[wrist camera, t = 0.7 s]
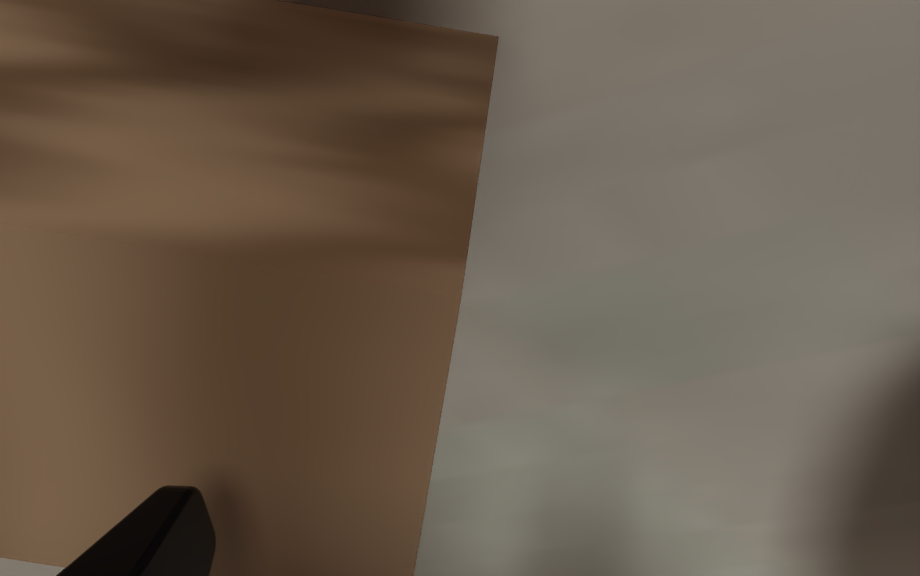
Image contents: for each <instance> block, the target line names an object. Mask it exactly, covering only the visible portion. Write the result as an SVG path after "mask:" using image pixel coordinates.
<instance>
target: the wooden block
mask: <svg viewBox="0 0 920 576" xmlns="http://www.w3.org/2000/svg"><path fill="white" fill-rule="evenodd" d="M498 38H499V37H497V36H491V35H485V34H479V33H473V32H467V31H461V30H455V29H449V28H443V27H437V26H431V25H425V24H418V23H412V22H406V21H400V20H394V19H388V18H382V17H376V16H370V15H364V14H358V13H352V12H346V11H340V10H334V9H328V8H322V7H316V6H309V5H303V4H297V3H291V2H285V1H279V0H0V557H1V558H8V559H14V560H20V561H27V562H33V563H39V564H46V565H52V566H58V567H65V568H66V567H67V566H68V565H69V564H71V563H72V562H73V561H74V560H75V559H76V558H78V557H79V556H80V555H81V554H82V553H83V552H85V551H86V550H87V549H88V548H89V547H90V546H92V545H93V544H94V543H95V542H96V541H97V540H99V539H100V538H101V537H102V536H103V535H104V534H106V533H107V532H108V531H109V530H110V529H111V528H113V527H114V526H115V525H116V524H117V523H119V522H120V521H121V520H122V519H123V518H124V517H126V516H127V515H128V514H129V513H130V512H131V511H133V510H134V509H135V508H136V507H137V506H138V505H140V504H141V503H142V502H143V501H144V500H145V499H147V498H148V497H149V496H150V495H151V494H152V493H154V492H155V491H156V490H157V489H159V488H161V487H163V486H167V485H177V486H193V487H196V488H197V489H199V490H200V491H201V494H202V496H203V498H204V501H205V504H206V507H207V510H208V513H209V515H210V518H211V521H212V524H213V527H214V530H215V534H216V548H215V554H214V558H213V562H212V566H211V570H210V574H209V576H414V570H415V564H416V558H417V553H418V547H419V541H420V535H421V529H422V523H423V518H424V512H425V506H426V500H427V494H428V488H429V483H430V477H431V471H432V465H433V459H434V453H435V448H436V442H437V436H438V430H439V424H440V418H441V413H442V407H443V401H444V395H445V389H446V383H447V378H448V372H449V366H450V360H451V354H452V348H453V343H454V337H455V331H456V325H457V319H458V313H459V308H460V302H461V296H462V289H463V282H464V275H465V268H466V261H467V254H468V247H469V240H470V233H471V226H472V219H473V212H474V205H475V198H476V191H477V184H478V177H479V170H480V163H481V156H482V149H483V142H484V135H485V128H486V121H487V114H488V107H489V100H490V93H491V87H492V80H493V73H494V66H495V59H496V52H497V45H498Z"/></svg>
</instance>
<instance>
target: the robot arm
mask: <svg viewBox="0 0 920 576" xmlns="http://www.w3.org/2000/svg"><path fill="white" fill-rule="evenodd" d="M215 548H216V534H215V530H214V527H213V524H212V521H211V518H210V515H209V513H208V510H207V507H206V504H205V501H204V498H203V496H202V494H201V491H200V490H199V489H197V488H196V487H193V486H177V485H167V486H163V487H161V488H159V489H157V490H156V491H155V492H154V493H152V494H151V495H150V496H149V497H148V498H147V499H145V500H144V501H143V502H142V503H141V504H140V505H138V506H137V507H136V508H135V509H134V510H133V511H131V512H130V513H129V514H128V515H127V516H126V517H124V518H123V519H122V520H121V521H120V522H119V523H117V524H116V525H115V526H114V527H113V528H111V529H110V530H109V531H108V532H107V533H106V534H104V535H103V536H102V537H101V538H100V539H99V540H97V541H96V542H95V543H94V544H93V545H92V546H90V547H89V548H88V549H87V550H86V551H85V552H83V553H82V554H81V555H80V556H79V557H78V558H76V559H75V560H74V561H73V562H72V563H71V564H69V565H68V566H67V567H66V568H65V569H63V570H62V571H61V572H60V573H59V574H58V575H56V576H209V574H210V570H211V566H212V562H213V558H214V554H215Z"/></svg>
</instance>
